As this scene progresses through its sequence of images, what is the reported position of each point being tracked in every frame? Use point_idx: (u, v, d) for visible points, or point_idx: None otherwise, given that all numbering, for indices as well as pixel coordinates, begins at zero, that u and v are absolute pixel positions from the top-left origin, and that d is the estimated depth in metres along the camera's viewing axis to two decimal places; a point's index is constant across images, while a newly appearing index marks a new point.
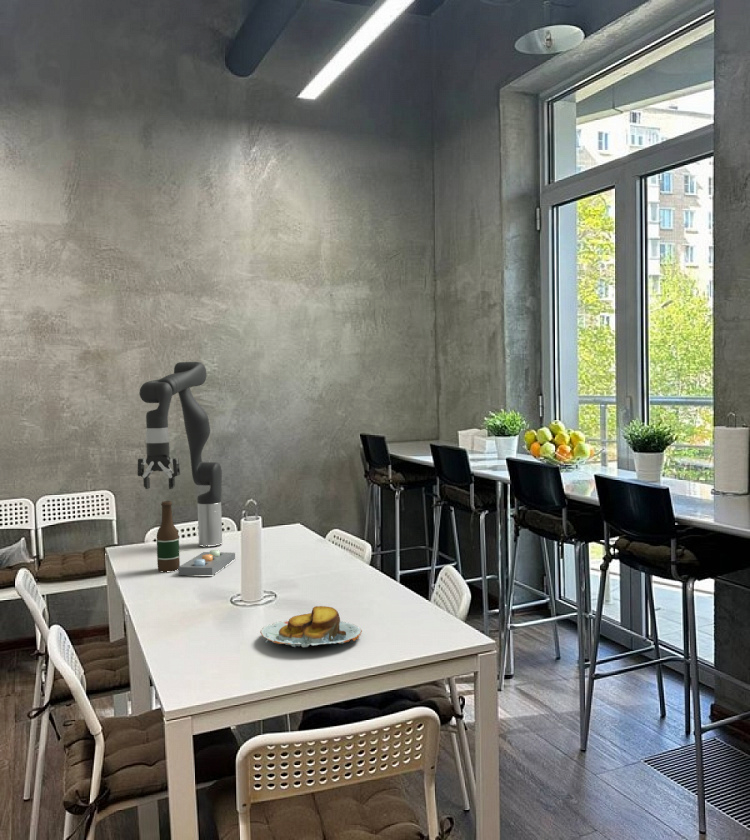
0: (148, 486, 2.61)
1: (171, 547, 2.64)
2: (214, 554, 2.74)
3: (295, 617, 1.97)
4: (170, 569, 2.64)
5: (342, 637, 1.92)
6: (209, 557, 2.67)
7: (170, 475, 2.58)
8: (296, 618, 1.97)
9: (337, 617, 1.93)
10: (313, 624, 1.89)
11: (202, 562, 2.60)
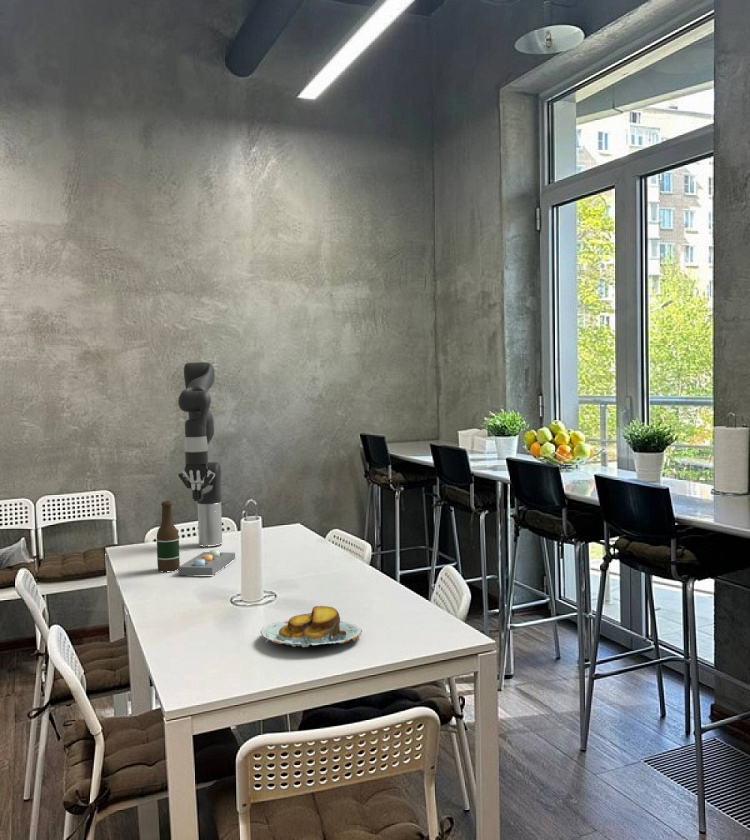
0: None
1: (171, 547, 2.64)
2: (214, 554, 2.74)
3: (295, 617, 1.97)
4: (170, 569, 2.64)
5: (342, 637, 1.92)
6: (209, 557, 2.67)
7: (198, 487, 2.59)
8: (296, 618, 1.97)
9: (337, 617, 1.93)
10: (313, 624, 1.89)
11: (202, 562, 2.60)
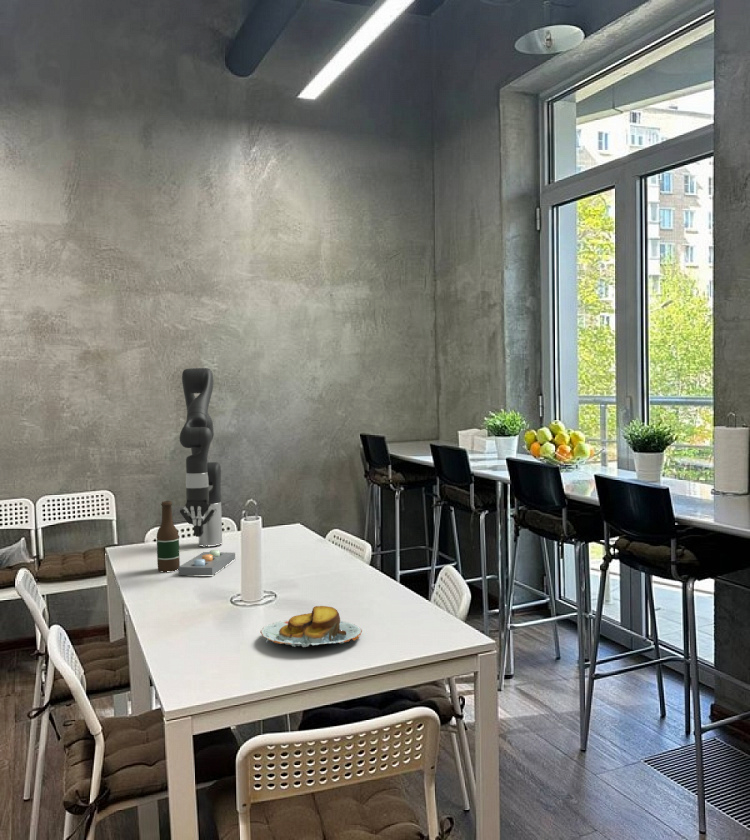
0: None
1: (171, 547, 2.64)
2: (214, 554, 2.74)
3: (295, 617, 1.97)
4: (170, 569, 2.64)
5: (342, 637, 1.92)
6: (209, 557, 2.67)
7: (199, 523, 2.59)
8: (296, 617, 1.97)
9: (337, 617, 1.93)
10: (313, 624, 1.89)
11: (202, 562, 2.60)
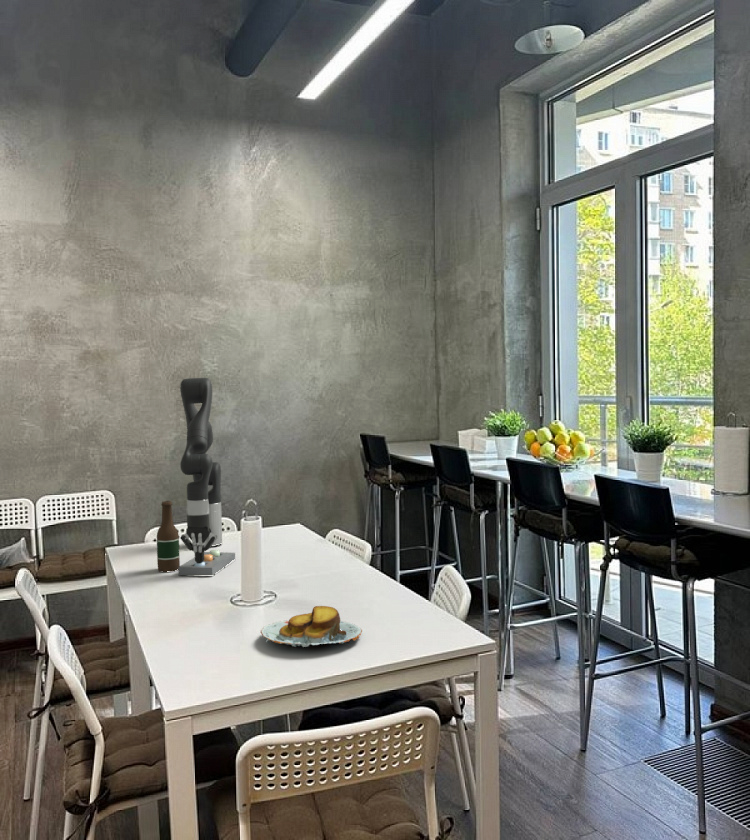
0: None
1: (171, 547, 2.64)
2: (214, 554, 2.74)
3: (295, 617, 1.97)
4: (170, 569, 2.64)
5: (342, 637, 1.92)
6: (209, 557, 2.67)
7: (200, 550, 2.60)
8: (296, 617, 1.97)
9: (337, 617, 1.93)
10: (313, 624, 1.89)
11: (202, 564, 2.60)
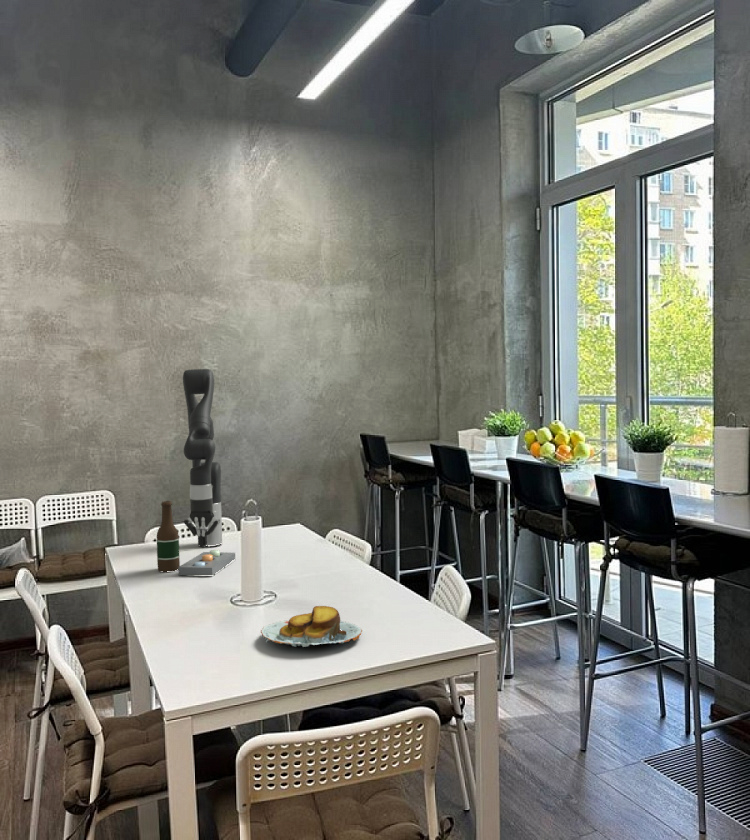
0: None
1: (171, 547, 2.64)
2: (214, 554, 2.74)
3: (295, 617, 1.97)
4: (170, 569, 2.64)
5: (342, 637, 1.92)
6: (209, 557, 2.67)
7: (203, 533, 2.64)
8: (296, 617, 1.97)
9: (337, 617, 1.93)
10: (313, 624, 1.89)
11: (202, 565, 2.60)
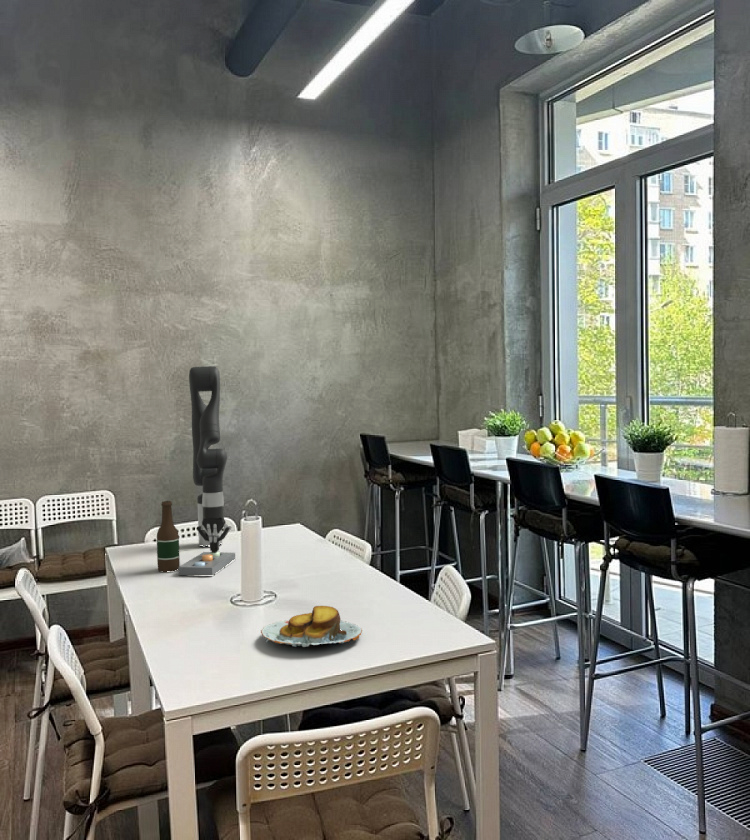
0: None
1: (171, 547, 2.64)
2: (214, 555, 2.74)
3: (295, 617, 1.98)
4: (170, 569, 2.64)
5: (342, 637, 1.92)
6: (209, 557, 2.67)
7: (215, 540, 2.74)
8: (296, 617, 1.97)
9: (337, 617, 1.93)
10: (313, 624, 1.89)
11: (202, 565, 2.60)
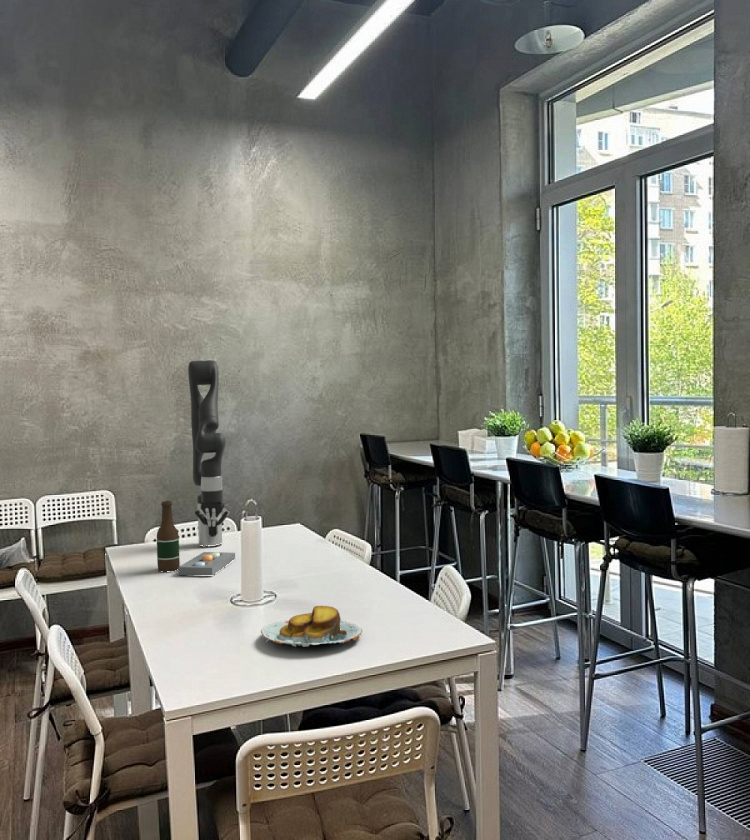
0: None
1: (171, 547, 2.64)
2: None
3: (296, 617, 1.98)
4: (170, 569, 2.64)
5: (342, 637, 1.92)
6: (209, 557, 2.67)
7: (213, 524, 2.74)
8: (296, 617, 1.97)
9: (338, 617, 1.93)
10: (314, 624, 1.89)
11: (202, 565, 2.60)
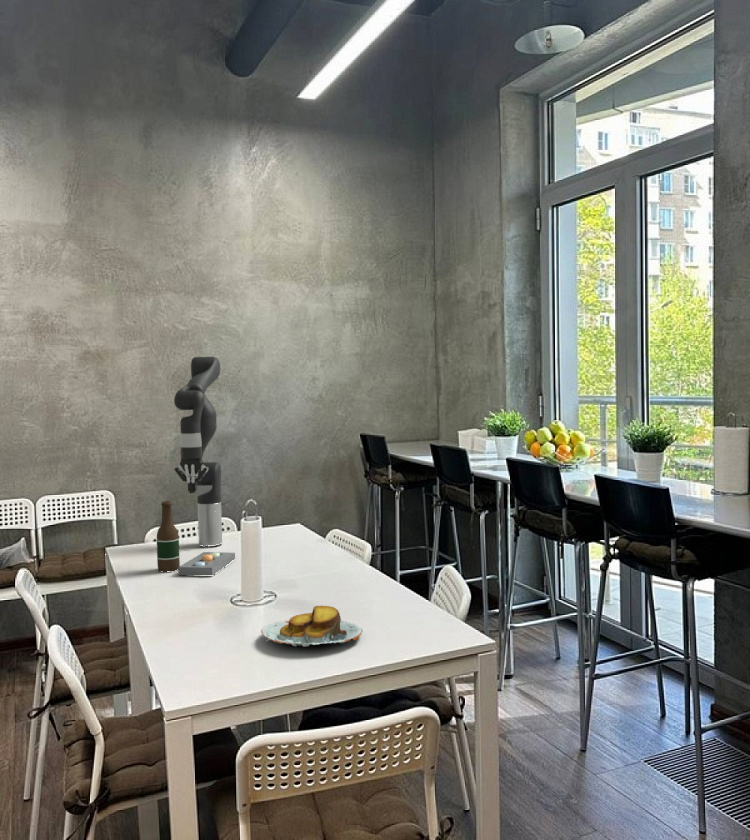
0: None
1: (171, 547, 2.64)
2: None
3: (296, 616, 1.98)
4: (170, 569, 2.64)
5: (343, 636, 1.92)
6: (209, 557, 2.67)
7: (192, 480, 2.77)
8: (296, 617, 1.97)
9: (338, 617, 1.93)
10: (314, 623, 1.89)
11: (202, 565, 2.60)
